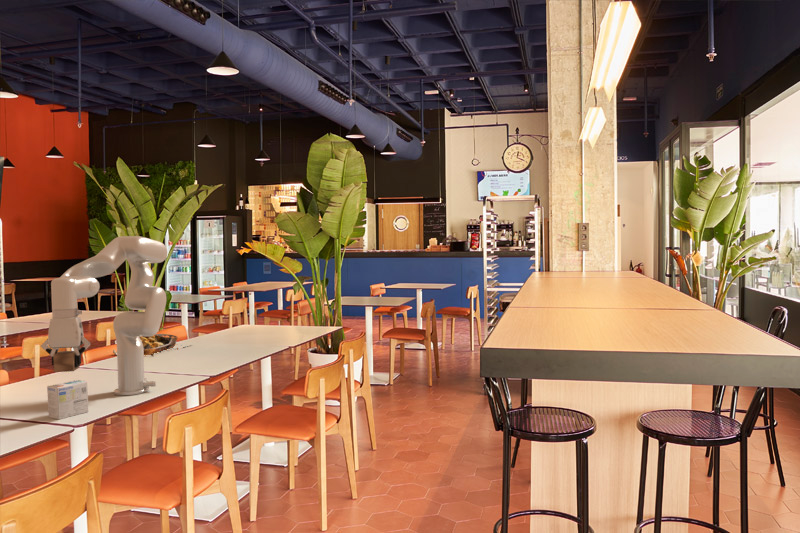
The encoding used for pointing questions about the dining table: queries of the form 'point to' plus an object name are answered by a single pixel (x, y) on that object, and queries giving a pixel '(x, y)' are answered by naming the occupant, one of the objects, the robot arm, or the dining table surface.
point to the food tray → (156, 343)
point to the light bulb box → (67, 399)
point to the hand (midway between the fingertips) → (66, 366)
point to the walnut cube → (64, 361)
